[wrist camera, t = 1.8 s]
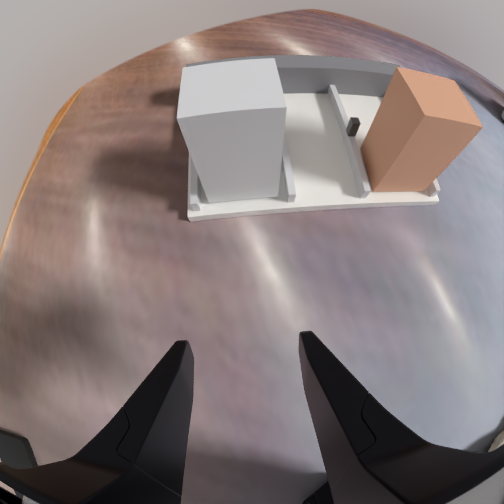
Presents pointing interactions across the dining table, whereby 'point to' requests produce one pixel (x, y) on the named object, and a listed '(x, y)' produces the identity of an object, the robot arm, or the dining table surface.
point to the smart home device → (16, 453)
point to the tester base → (319, 141)
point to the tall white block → (234, 127)
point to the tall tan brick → (417, 131)
